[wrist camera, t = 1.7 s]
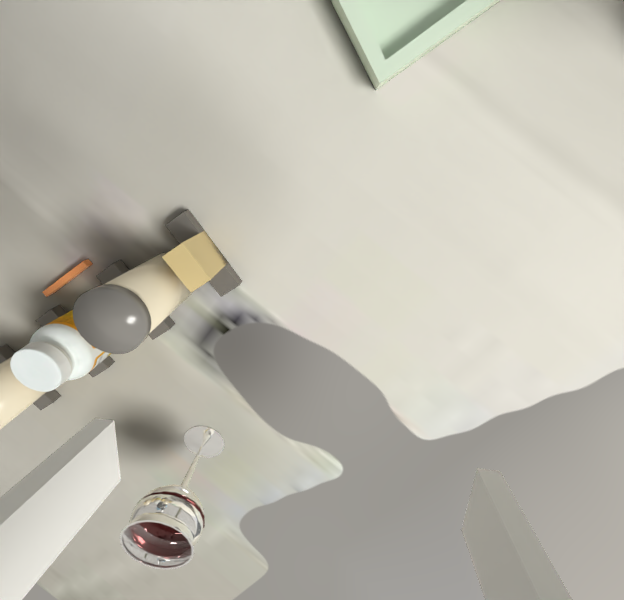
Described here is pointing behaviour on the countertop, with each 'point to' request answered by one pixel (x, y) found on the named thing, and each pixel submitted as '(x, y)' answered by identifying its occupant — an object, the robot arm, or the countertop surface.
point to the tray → (402, 30)
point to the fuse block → (182, 260)
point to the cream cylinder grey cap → (129, 306)
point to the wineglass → (171, 513)
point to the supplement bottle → (55, 356)
